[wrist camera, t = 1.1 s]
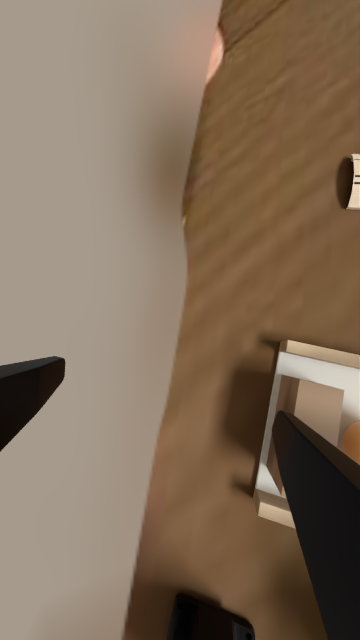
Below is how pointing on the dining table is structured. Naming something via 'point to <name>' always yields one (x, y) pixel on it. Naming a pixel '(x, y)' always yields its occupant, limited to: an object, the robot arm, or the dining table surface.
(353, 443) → the ball
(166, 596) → the dining table surface
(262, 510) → the lane rails
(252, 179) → the dining table surface
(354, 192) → the beige long flat bar
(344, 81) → the dining table surface
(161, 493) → the dining table surface
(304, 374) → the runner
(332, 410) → the paddle block
